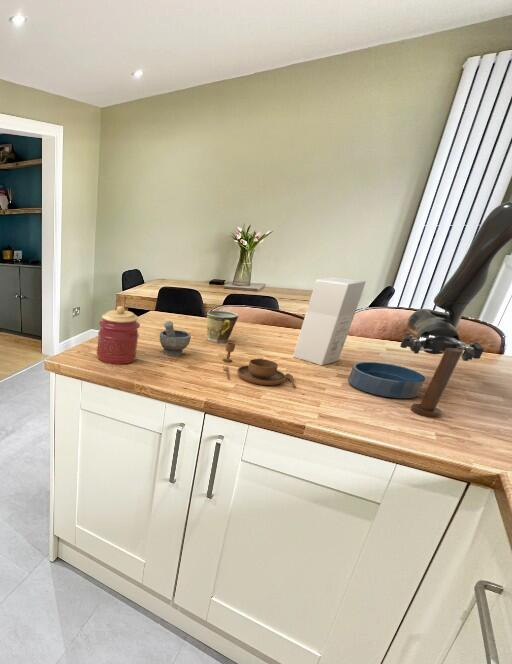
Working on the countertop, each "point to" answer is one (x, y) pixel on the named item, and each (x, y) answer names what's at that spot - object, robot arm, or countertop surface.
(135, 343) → the kitchen canister
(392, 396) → the bowl
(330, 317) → the tall white carton
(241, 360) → the countertop surface
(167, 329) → the mortar and pestle
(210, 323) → the ceramic cup
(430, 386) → the brown post with base
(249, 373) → the place setting
